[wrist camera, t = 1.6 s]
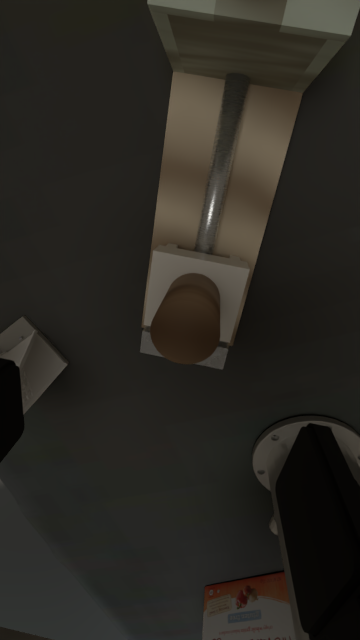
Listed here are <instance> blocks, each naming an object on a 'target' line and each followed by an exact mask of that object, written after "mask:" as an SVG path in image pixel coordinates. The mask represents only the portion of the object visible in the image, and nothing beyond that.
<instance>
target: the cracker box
mask: <svg viewBox="0 0 360 640" xmlns="http://www.w3.org/2000/svg"><path fill="white" fill-rule="evenodd" d="M202 640H296V637H295V631H294V626H293V620H292V614H291V608H290V602H289V596H288V590H287V584H286V578H285V573H284V572H280V573H274V574H269V575H264V576H258V577H253V578H248V579H243V580H237V581H232V582H226V583H221V584H215V585H210V586H205V597H204V615H203V637H202Z"/></svg>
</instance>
